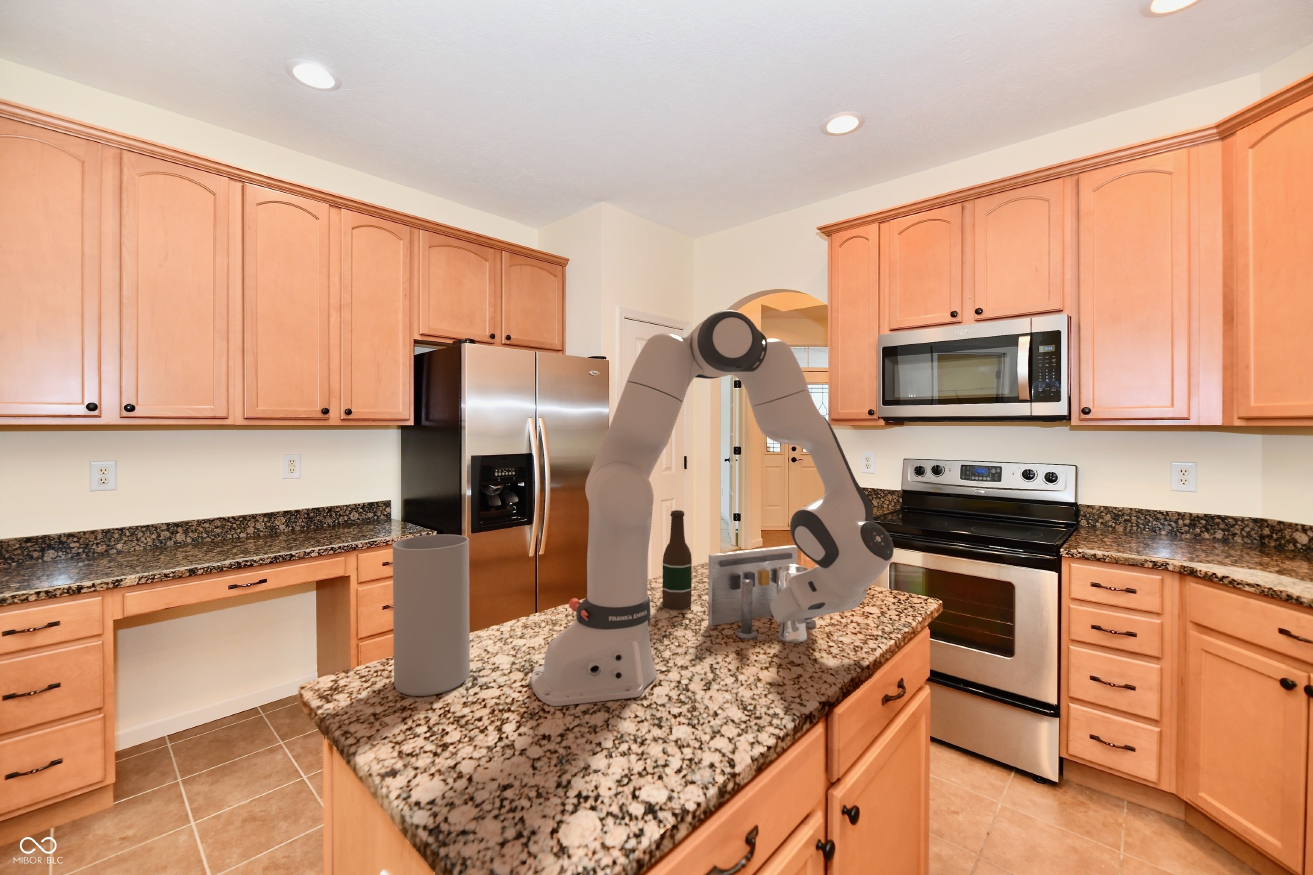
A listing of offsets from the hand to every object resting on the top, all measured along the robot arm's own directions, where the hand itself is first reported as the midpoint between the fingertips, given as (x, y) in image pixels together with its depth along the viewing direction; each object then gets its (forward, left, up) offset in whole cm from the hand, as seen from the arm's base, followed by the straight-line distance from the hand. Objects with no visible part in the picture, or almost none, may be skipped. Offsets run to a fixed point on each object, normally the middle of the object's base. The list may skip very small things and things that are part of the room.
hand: (801, 619), depth 115 cm
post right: (+8, +8, -5) cm, 12 cm away
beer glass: (0, +3, -5) cm, 6 cm away
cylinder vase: (-71, +13, -5) cm, 73 cm away
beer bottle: (-13, +32, -5) cm, 35 cm away
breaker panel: (0, +17, -5) cm, 18 cm away
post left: (-8, +8, -5) cm, 13 cm away
